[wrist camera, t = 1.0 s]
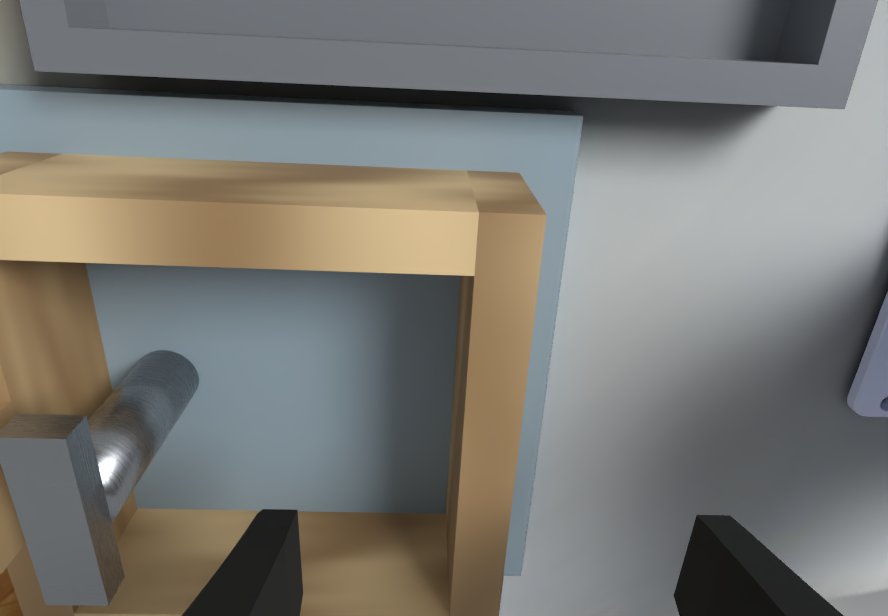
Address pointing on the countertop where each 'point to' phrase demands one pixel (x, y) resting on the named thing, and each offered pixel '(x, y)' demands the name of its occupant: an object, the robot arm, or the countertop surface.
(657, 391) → the countertop surface
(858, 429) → the countertop surface
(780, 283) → the countertop surface
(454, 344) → the stake base
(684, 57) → the tray
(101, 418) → the stake post
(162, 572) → the wooden frame
